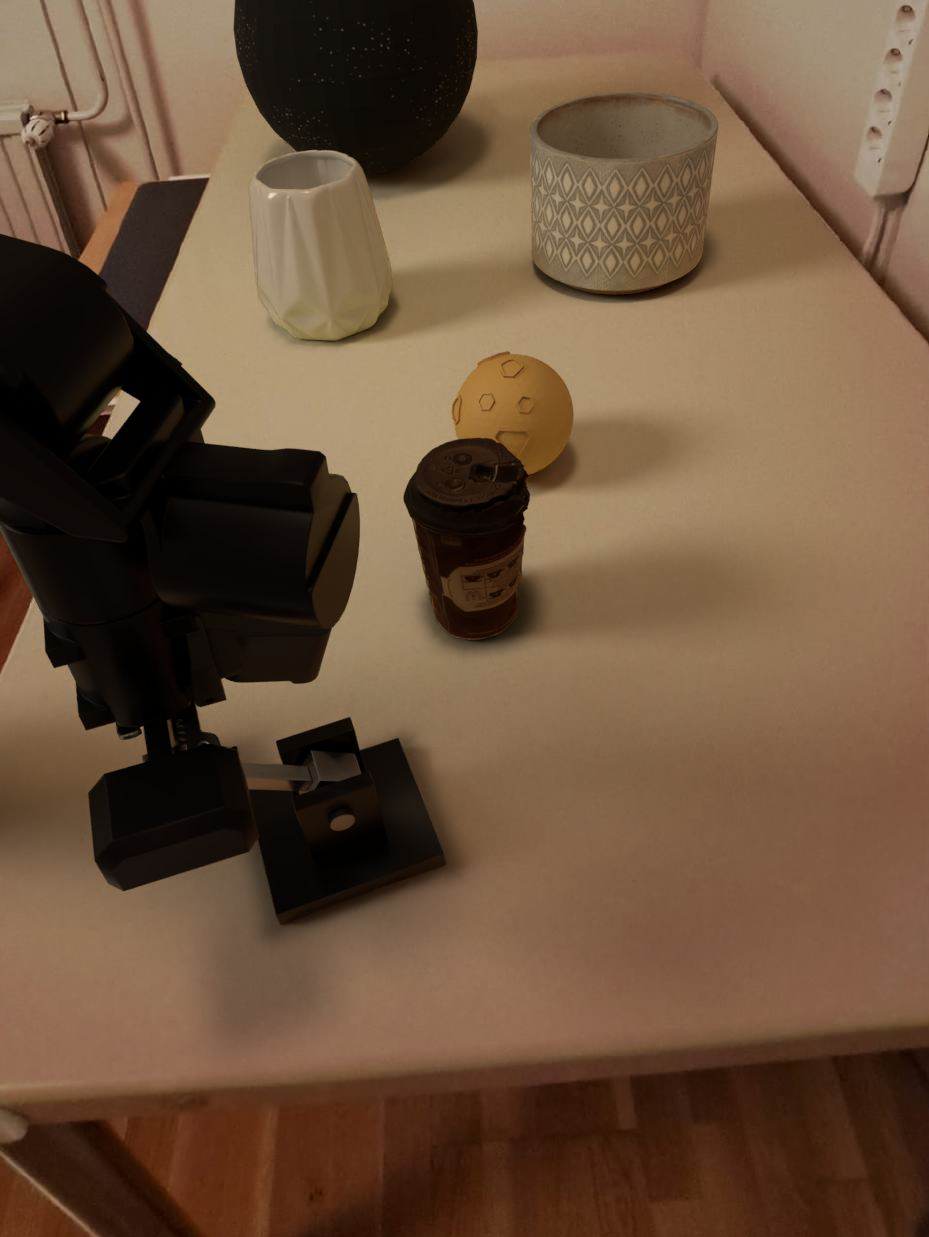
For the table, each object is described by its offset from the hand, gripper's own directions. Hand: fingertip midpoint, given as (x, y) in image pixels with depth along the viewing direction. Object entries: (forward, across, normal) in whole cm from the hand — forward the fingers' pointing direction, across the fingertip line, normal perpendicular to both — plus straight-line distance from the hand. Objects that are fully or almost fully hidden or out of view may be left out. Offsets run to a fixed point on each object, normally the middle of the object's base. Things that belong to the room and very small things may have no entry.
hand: (194, 790), depth 49 cm
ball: (+7, +98, -37) cm, 105 cm away
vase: (+8, +61, -22) cm, 65 cm away
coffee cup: (+8, +14, -21) cm, 27 cm away
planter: (+7, +58, -54) cm, 80 cm away
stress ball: (+8, +29, -30) cm, 43 cm away
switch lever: (+2, 0, -3) cm, 4 cm away
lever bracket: (+8, 0, -7) cm, 11 cm away
